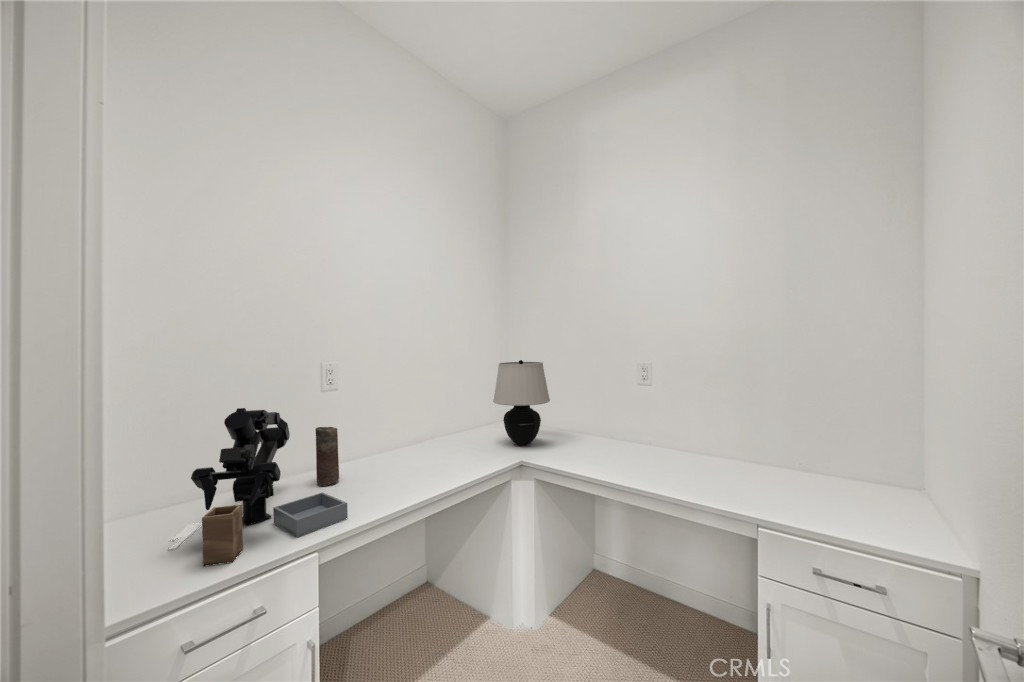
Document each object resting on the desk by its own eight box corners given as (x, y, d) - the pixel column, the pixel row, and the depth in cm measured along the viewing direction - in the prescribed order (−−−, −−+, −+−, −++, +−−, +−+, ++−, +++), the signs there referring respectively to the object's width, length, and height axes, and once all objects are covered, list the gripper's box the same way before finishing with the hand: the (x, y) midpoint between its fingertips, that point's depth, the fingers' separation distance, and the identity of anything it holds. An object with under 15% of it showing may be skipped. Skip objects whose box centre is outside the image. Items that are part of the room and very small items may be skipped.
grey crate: (273, 523, 116) (273, 507, 116) (322, 507, 127) (322, 492, 127) (297, 537, 107) (296, 520, 107) (347, 518, 118) (347, 502, 118)
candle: (317, 481, 150) (315, 426, 150) (339, 478, 153) (337, 424, 153) (316, 488, 143) (315, 430, 143) (339, 484, 146) (338, 428, 146)
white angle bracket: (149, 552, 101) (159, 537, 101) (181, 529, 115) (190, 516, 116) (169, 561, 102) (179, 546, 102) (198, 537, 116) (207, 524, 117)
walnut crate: (214, 553, 100) (213, 507, 100) (242, 549, 101) (241, 504, 101) (203, 566, 94) (201, 517, 94) (233, 562, 96) (232, 514, 96)
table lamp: (497, 437, 212) (496, 359, 212) (551, 437, 209) (549, 358, 209) (489, 452, 185) (487, 362, 185) (550, 452, 182) (548, 361, 182)
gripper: (193, 436, 104) (170, 496, 93) (276, 431, 109) (263, 487, 98) (208, 459, 112) (188, 517, 101) (285, 453, 116) (274, 508, 106)
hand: (228, 507), depth 101 cm, fingers open, 9 cm apart
